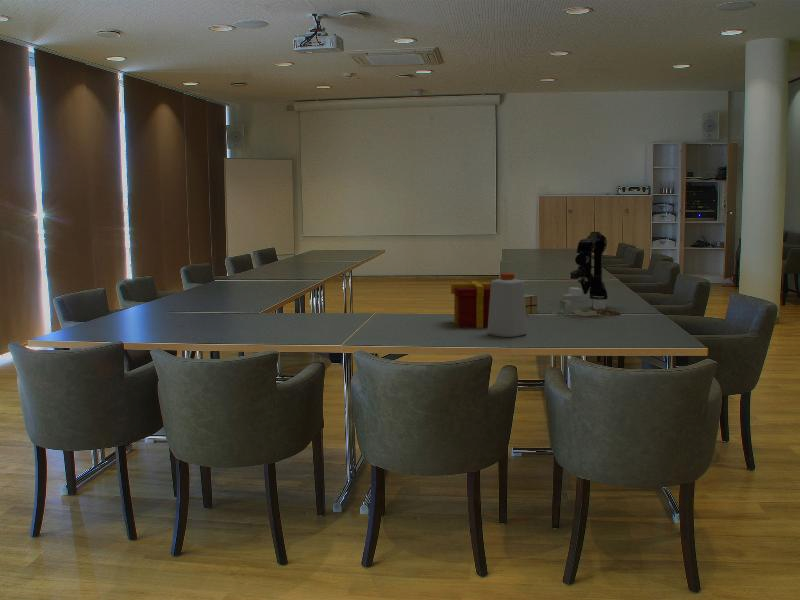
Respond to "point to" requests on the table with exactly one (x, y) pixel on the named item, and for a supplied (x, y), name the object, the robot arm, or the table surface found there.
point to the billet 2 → (599, 304)
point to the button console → (585, 313)
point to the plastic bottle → (507, 307)
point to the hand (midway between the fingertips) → (585, 294)
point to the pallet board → (607, 312)
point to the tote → (561, 314)
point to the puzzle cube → (530, 304)
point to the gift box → (471, 304)
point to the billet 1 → (565, 307)
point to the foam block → (573, 295)
